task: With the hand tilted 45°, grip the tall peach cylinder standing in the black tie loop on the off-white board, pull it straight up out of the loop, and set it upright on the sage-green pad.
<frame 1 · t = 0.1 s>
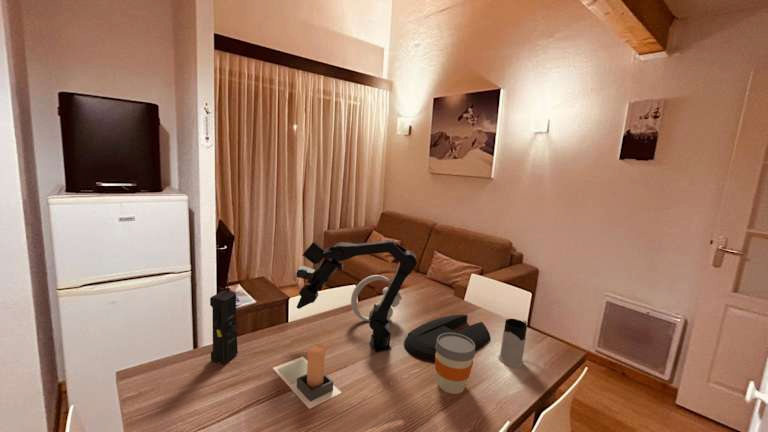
hand: (301, 302, 129), 15 cm above the table, tool tilted 35°, fingers open, 9 cm apart
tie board: (305, 382, 107), on the table
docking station: (445, 340, 140), on the table
reusable coffee cup: (450, 384, 111), on the table
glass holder: (513, 358, 130), on the table
portable radio: (223, 358, 116), on the table
headphones: (374, 320, 151), on the table
tall peach cylinder: (314, 388, 103), point 1 cm above the table, touching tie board
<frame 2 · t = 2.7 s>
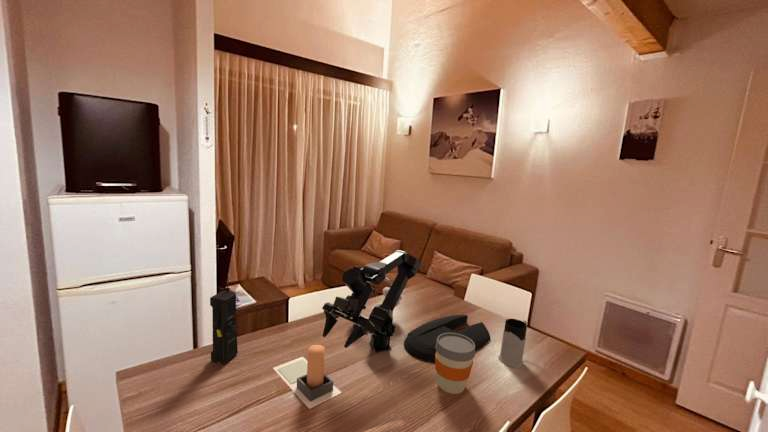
hand: (334, 341, 107), 13 cm above the table, tool tilted 45°, fingers open, 9 cm apart
nothing on the table moved.
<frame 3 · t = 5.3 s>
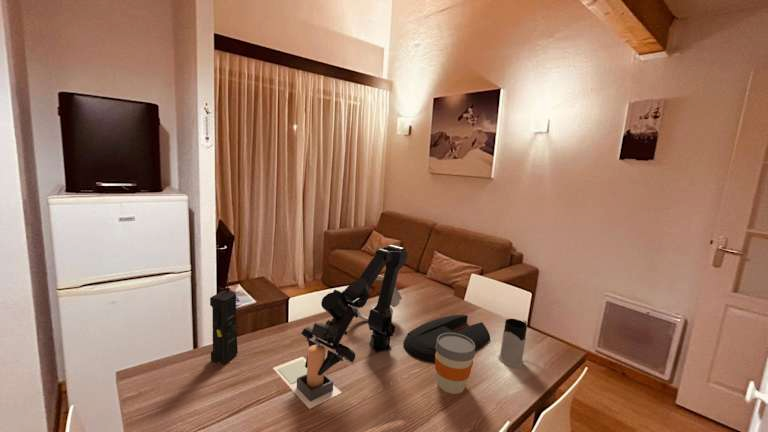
hand: (312, 371, 100), 8 cm above the table, tool tilted 45°, fingers closed on tall peach cylinder, 5 cm apart
tall peach cylinder: (314, 388, 103), point 1 cm above the table, touching gripper, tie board
everything else where it was.
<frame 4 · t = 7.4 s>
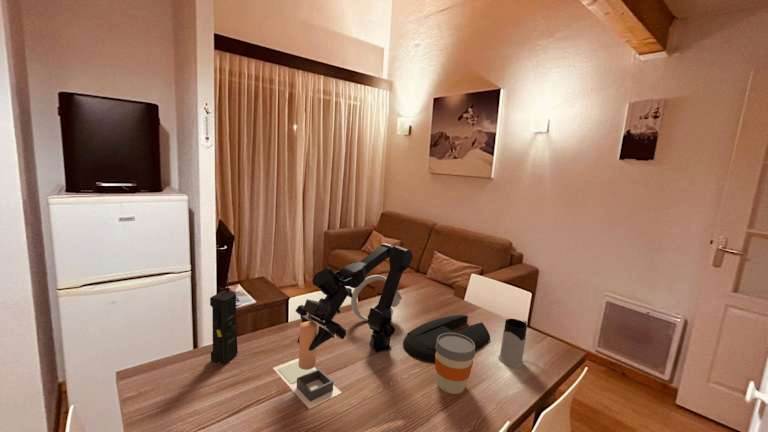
hand: (303, 346, 102), 13 cm above the table, tool tilted 45°, fingers closed on tall peach cylinder, 5 cm apart
tall peach cylinder: (306, 364, 105), point 7 cm above the table, touching gripper
everything else where it was.
when the fingers open (9 cm above the table, at t = 9.5 s): tall peach cylinder drops 1 cm, resting on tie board.
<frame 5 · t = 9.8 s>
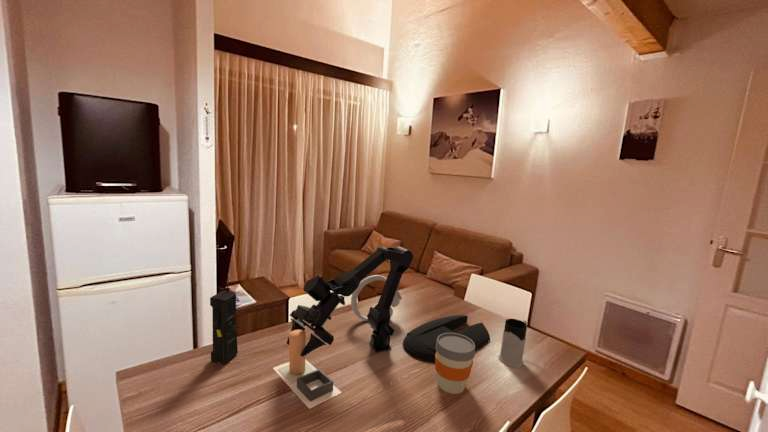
hand: (294, 349, 108), 9 cm above the table, tool tilted 45°, fingers open, 8 cm apart
tall peach cylinder: (297, 370, 110), point 1 cm above the table, touching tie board
everything else where it was.
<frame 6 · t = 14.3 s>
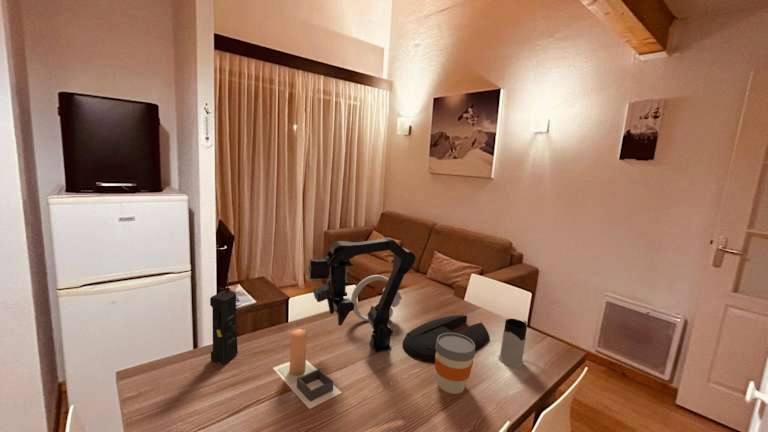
hand: (335, 319, 122), 13 cm above the table, tool pointing down, fingers open, 9 cm apart
nothing on the table moved.
at the end: tall peach cylinder 0.1 cm from the target spot, point 1.2 cm above the table; tall peach cylinder tilted 1°; the gripper is holding nothing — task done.
